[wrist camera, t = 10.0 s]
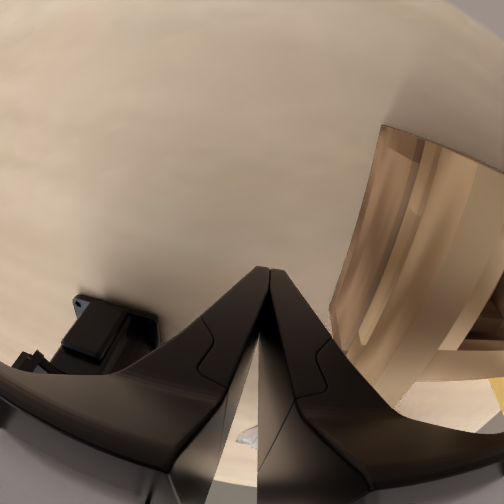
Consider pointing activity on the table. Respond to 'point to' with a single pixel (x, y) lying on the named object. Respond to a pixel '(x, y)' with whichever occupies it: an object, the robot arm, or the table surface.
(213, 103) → the table surface
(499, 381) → the yellow rectangular block
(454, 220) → the lid
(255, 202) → the table surface
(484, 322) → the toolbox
